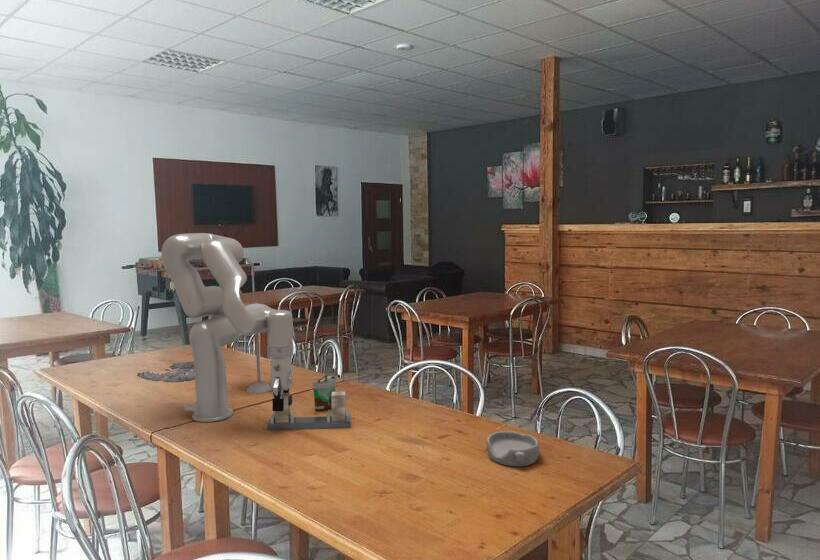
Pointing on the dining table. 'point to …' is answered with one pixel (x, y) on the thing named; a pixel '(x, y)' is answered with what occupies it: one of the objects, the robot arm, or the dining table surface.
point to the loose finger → (286, 413)
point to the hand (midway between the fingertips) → (281, 405)
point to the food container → (324, 392)
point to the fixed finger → (338, 405)
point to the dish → (512, 448)
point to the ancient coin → (183, 374)
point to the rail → (309, 422)
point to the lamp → (258, 360)
